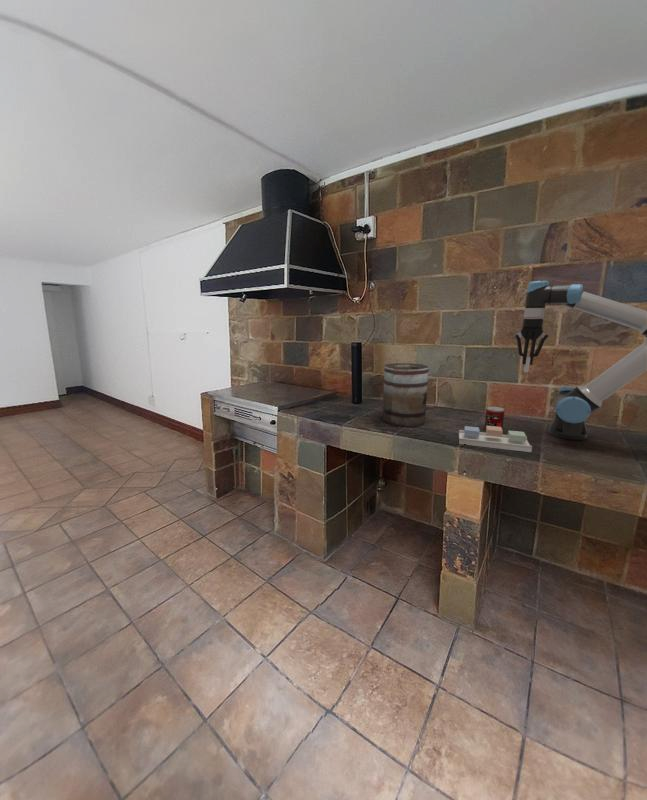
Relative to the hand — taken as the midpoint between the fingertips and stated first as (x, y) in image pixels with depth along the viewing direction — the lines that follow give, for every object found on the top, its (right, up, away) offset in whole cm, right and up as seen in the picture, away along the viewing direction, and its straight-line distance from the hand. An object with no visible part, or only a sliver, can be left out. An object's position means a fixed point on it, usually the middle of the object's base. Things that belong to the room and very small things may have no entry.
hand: (526, 371), depth 153 cm
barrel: (-49, -24, +30) cm, 62 cm away
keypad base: (-17, -32, -3) cm, 36 cm away
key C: (-25, -29, 0) cm, 38 cm away
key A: (-8, -30, -7) cm, 32 cm away
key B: (-17, -28, -4) cm, 33 cm away
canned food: (-8, -28, +15) cm, 32 cm away
